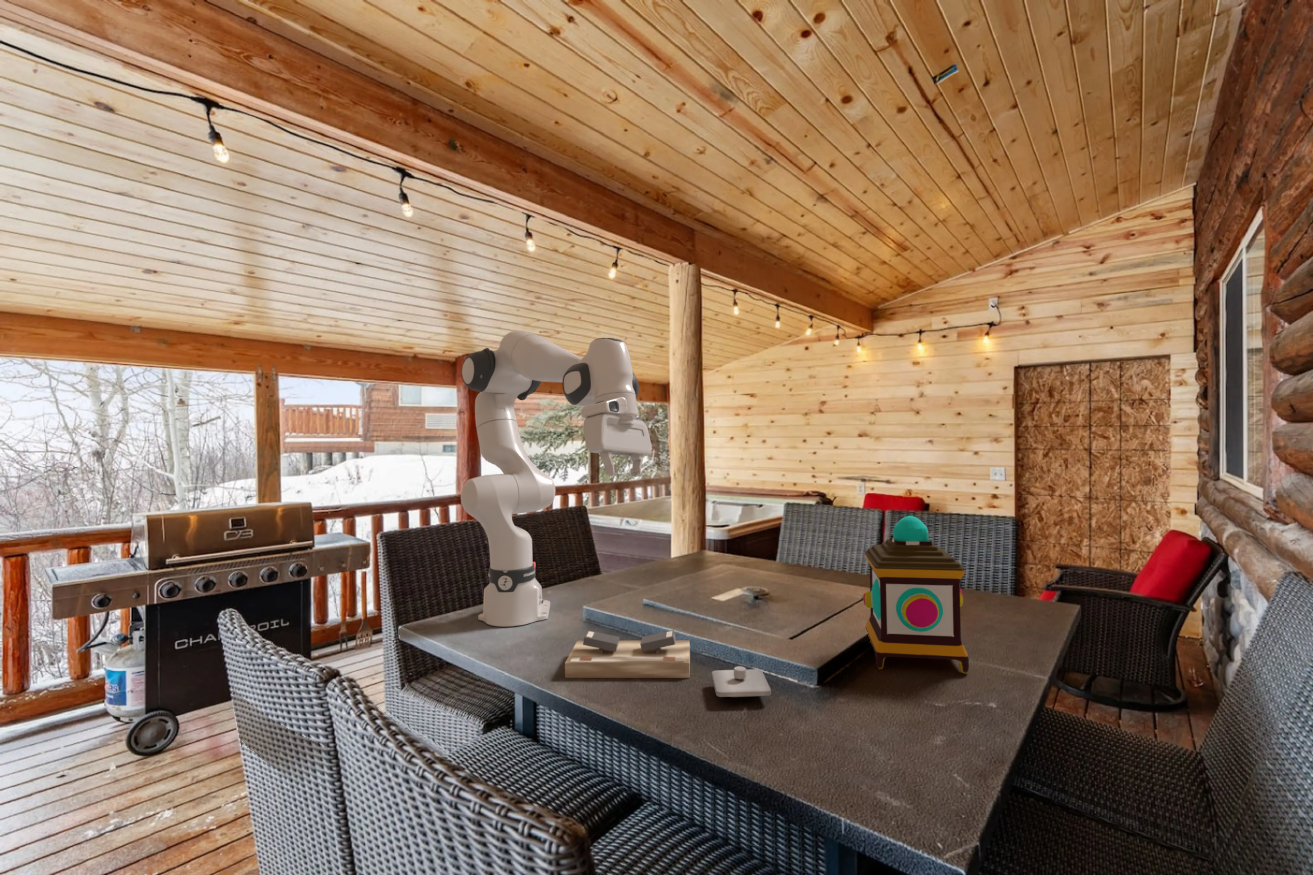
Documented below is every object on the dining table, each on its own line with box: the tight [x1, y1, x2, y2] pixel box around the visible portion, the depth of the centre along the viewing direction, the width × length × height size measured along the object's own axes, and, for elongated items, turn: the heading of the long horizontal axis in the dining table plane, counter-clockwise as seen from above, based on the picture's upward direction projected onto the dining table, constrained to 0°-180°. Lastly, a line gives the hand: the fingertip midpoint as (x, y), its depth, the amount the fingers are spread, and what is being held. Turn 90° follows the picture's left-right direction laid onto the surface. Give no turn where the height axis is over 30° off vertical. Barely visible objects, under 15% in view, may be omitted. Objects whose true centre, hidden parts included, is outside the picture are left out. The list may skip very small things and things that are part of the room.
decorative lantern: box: [862, 515, 970, 674], centre depth 128 cm, size 20×20×30 cm
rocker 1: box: [583, 630, 620, 652], centre depth 127 cm, size 4×7×2 cm, turn 86°
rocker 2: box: [640, 630, 677, 652], centre depth 127 cm, size 4×7×2 cm, turn 86°
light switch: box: [711, 665, 772, 698], centre depth 112 cm, size 10×10×5 cm
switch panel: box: [564, 639, 691, 679], centre depth 127 cm, size 13×25×4 cm, turn 86°
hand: (624, 475), depth 125 cm, fingers open, 8 cm apart
